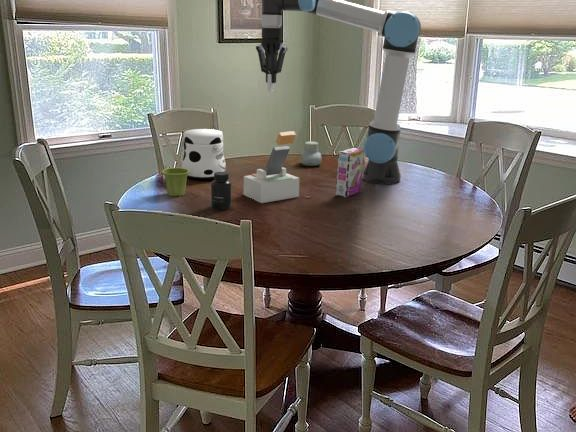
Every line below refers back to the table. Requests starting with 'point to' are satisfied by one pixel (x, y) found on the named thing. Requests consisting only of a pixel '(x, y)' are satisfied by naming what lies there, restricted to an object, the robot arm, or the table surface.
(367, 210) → the table surface
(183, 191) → the plant pot
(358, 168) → the candy bar box
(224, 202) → the supplement bottle
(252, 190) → the switch box
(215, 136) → the white black spotted container
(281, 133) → the switch lever
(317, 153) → the air freshener
